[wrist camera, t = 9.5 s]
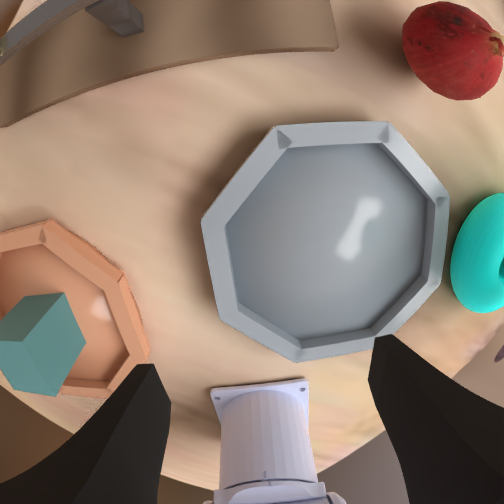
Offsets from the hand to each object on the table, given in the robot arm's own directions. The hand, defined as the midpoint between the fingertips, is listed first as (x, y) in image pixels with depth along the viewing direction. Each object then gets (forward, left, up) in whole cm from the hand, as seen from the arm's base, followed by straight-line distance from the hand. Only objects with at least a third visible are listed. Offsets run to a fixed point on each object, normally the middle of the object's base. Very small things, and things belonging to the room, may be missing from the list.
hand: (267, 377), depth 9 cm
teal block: (-3, +16, -10) cm, 19 cm away
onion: (+12, -12, -11) cm, 20 cm away
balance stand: (+15, +5, -10) cm, 19 cm away
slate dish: (0, -5, -10) cm, 12 cm away
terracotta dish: (-3, +16, -10) cm, 19 cm away
